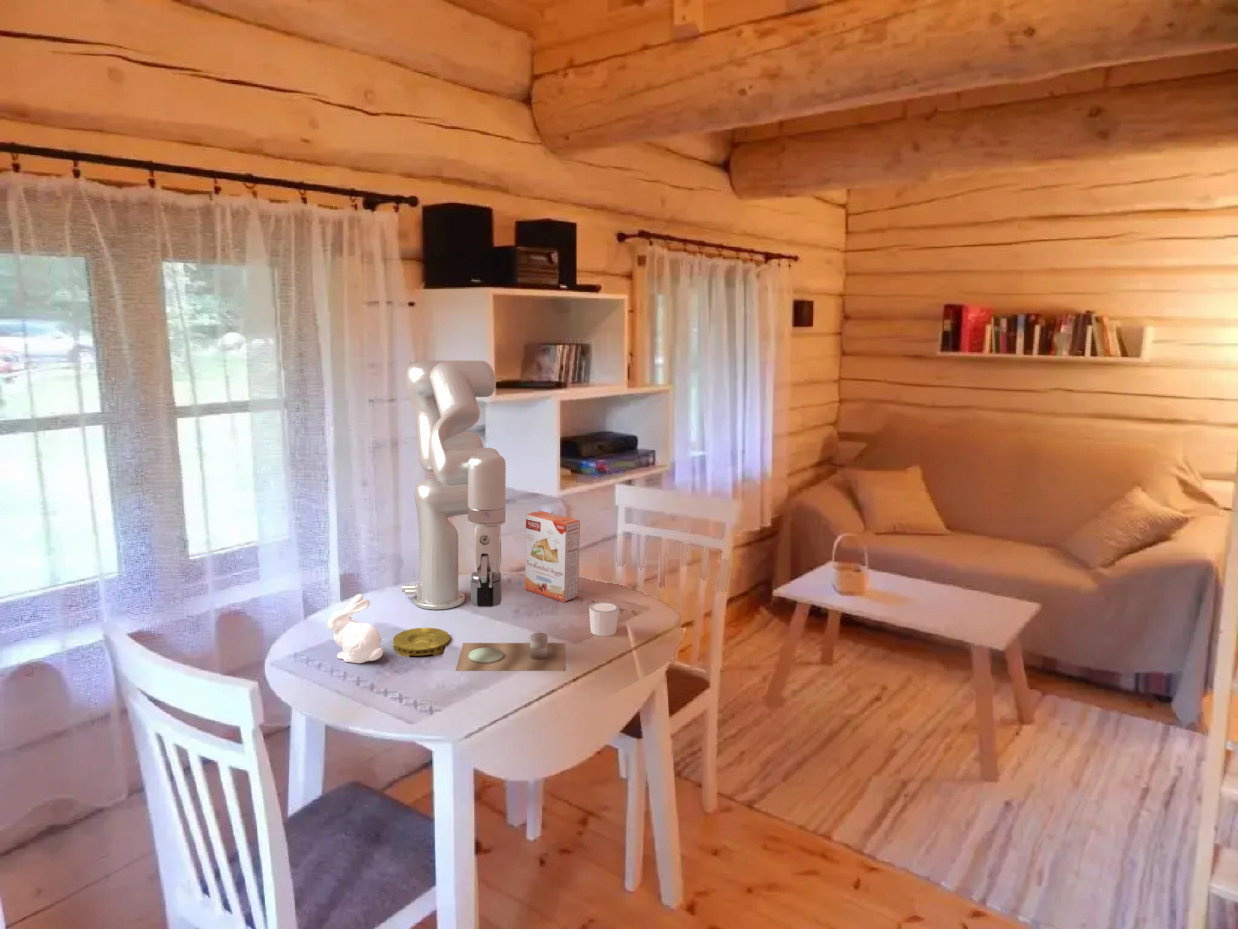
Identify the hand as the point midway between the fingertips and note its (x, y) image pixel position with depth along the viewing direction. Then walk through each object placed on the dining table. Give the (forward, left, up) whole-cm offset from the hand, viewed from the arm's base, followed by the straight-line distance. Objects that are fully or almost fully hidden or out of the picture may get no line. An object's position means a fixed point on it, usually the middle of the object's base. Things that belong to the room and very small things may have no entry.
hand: (486, 599), depth 170 cm
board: (+5, 0, -14) cm, 15 cm away
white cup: (+25, +14, -14) cm, 32 cm away
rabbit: (-28, +3, -14) cm, 31 cm away
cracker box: (+13, +42, -14) cm, 46 cm away
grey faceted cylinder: (0, 0, -1) cm, 1 cm away
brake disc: (-15, +8, -14) cm, 22 cm away
